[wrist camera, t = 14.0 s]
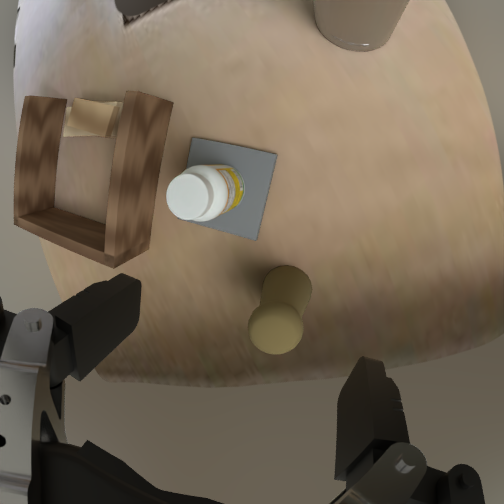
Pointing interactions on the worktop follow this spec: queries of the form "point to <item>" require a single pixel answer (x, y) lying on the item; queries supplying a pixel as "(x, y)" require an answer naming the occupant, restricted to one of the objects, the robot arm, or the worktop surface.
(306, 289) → the cork
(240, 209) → the slate mat
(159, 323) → the worktop surface
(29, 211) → the walnut open frame
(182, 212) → the supplement bottle
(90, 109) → the offcut stack
